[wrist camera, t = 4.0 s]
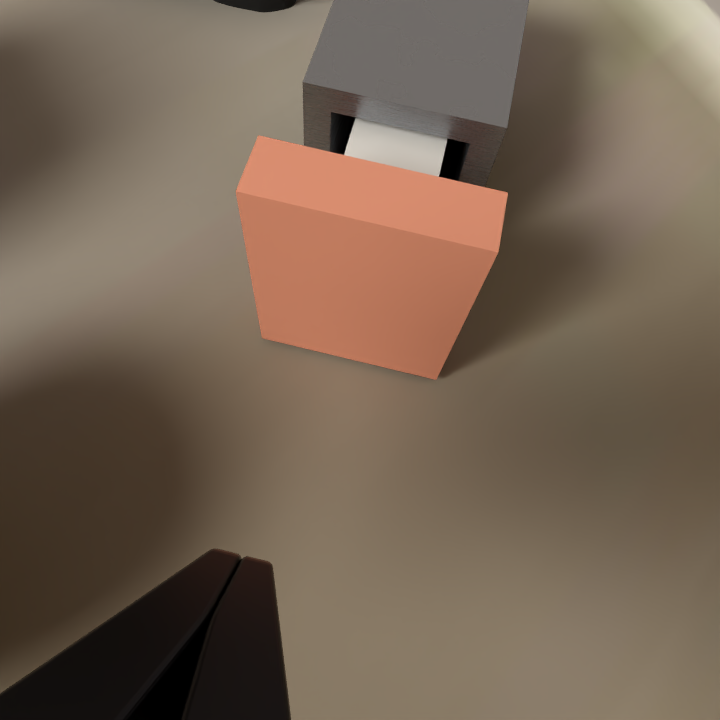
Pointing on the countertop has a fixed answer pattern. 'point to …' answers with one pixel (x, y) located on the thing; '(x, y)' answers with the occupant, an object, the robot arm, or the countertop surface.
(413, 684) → the countertop surface
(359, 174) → the pink block
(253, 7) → the egg carton
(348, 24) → the housing
